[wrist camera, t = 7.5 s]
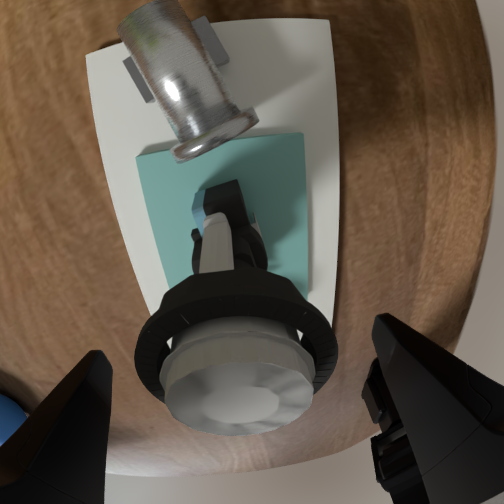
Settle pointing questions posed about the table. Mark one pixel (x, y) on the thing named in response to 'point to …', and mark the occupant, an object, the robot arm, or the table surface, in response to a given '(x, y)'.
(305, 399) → the push button
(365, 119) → the table surface
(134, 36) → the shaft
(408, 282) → the table surface
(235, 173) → the white rectangular board
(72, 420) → the robot arm
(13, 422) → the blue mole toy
